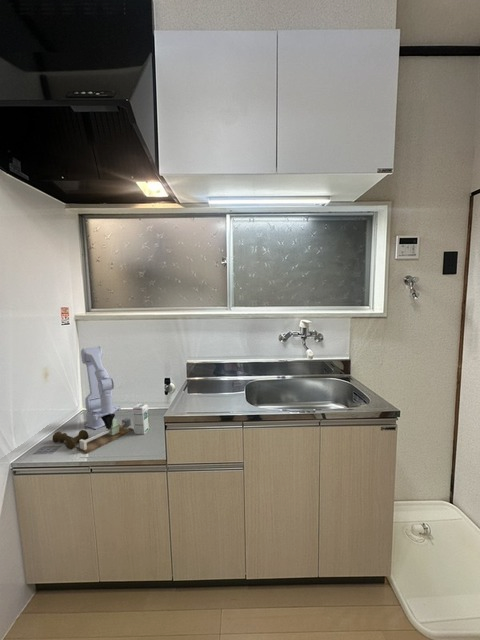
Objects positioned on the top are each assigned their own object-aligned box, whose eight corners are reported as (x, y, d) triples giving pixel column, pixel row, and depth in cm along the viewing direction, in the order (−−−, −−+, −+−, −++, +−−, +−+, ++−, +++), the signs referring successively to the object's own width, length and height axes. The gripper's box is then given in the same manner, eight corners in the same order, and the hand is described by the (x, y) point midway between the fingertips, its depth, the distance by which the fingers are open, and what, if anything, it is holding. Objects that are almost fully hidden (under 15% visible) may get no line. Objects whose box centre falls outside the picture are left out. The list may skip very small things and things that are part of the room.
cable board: (86, 453, 146) (86, 451, 146) (76, 449, 150) (76, 447, 150) (133, 430, 169) (133, 428, 169) (123, 427, 173) (123, 425, 173)
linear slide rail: (84, 450, 147) (83, 440, 147) (80, 448, 149) (79, 438, 149) (131, 427, 170) (130, 419, 170) (126, 426, 172) (126, 417, 172)
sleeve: (112, 435, 160) (111, 421, 160) (108, 433, 162) (107, 420, 161) (119, 432, 164) (118, 418, 163) (114, 430, 166) (113, 417, 165)
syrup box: (144, 434, 164) (143, 407, 163) (134, 433, 165) (132, 407, 164) (149, 429, 170) (148, 403, 168) (139, 428, 171) (138, 403, 169)
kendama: (64, 437, 164) (95, 442, 157) (48, 447, 155) (79, 452, 148) (63, 426, 163) (94, 430, 156) (46, 435, 154) (78, 440, 147)
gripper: (98, 408, 150) (100, 435, 152) (124, 399, 163) (125, 424, 164) (89, 406, 154) (91, 432, 156) (115, 397, 166) (116, 421, 168)
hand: (108, 428), depth 160 cm, fingers closed
